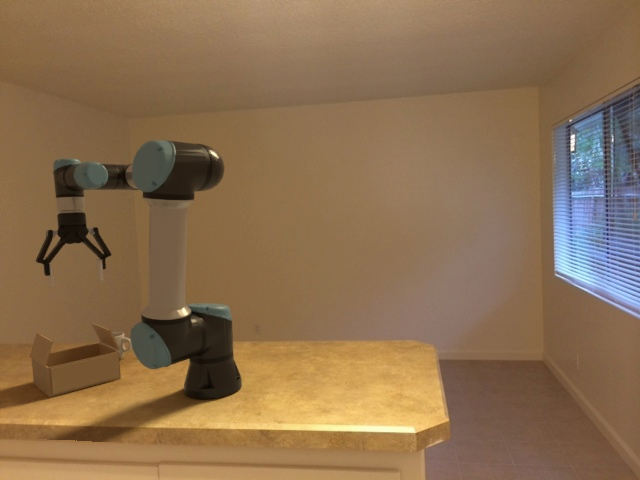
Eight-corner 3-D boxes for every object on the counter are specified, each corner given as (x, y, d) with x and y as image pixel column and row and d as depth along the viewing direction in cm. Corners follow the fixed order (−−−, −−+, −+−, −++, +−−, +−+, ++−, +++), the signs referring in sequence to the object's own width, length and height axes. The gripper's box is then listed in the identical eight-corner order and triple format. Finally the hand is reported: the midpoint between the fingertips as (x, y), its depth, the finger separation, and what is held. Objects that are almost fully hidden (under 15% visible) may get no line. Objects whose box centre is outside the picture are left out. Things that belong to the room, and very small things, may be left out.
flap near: (45, 366, 132) (53, 341, 133) (43, 366, 132) (51, 341, 133) (31, 356, 142) (38, 333, 144) (29, 356, 142) (36, 332, 143)
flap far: (120, 349, 145) (110, 329, 143) (118, 350, 145) (109, 330, 143) (101, 341, 156) (92, 322, 154) (100, 341, 156) (91, 323, 154)
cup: (138, 354, 170) (136, 331, 169) (126, 361, 162) (125, 337, 161) (108, 354, 171) (106, 332, 170) (95, 362, 163) (93, 338, 162)
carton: (121, 379, 145) (119, 352, 144) (50, 398, 132) (48, 368, 131) (100, 366, 157) (98, 342, 157) (33, 383, 144) (30, 356, 144)
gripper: (110, 211, 157) (115, 277, 158) (20, 214, 140) (26, 288, 142) (118, 210, 151) (124, 278, 152) (26, 213, 135) (32, 290, 136)
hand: (77, 283), depth 147 cm, fingers open, 13 cm apart
